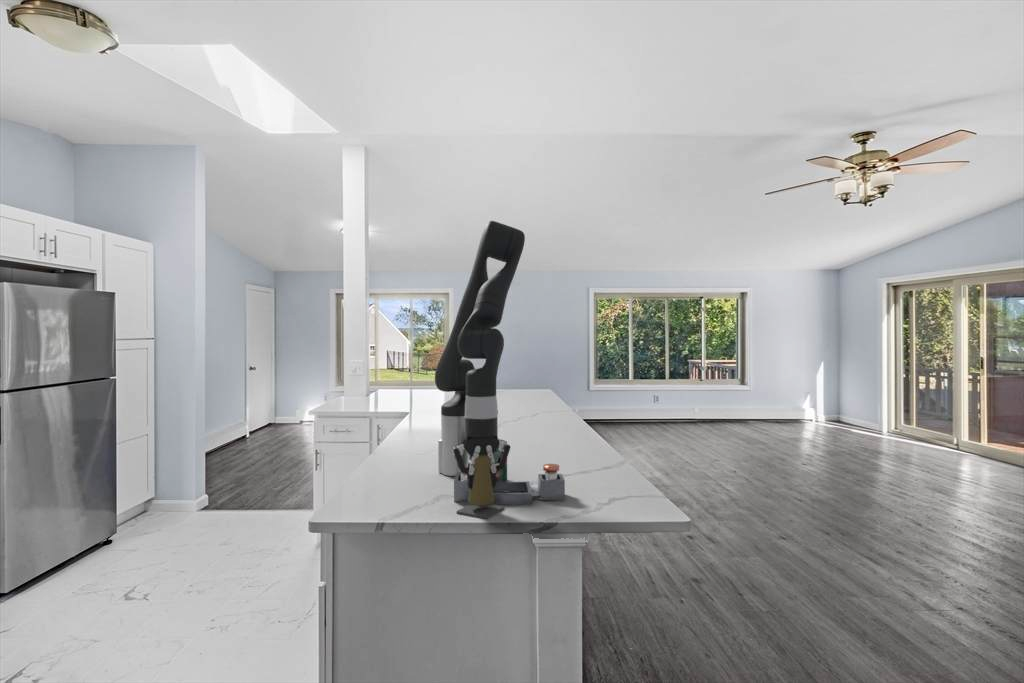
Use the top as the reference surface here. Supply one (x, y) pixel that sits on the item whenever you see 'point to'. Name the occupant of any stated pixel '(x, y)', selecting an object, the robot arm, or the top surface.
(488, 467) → the cork
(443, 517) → the top surface
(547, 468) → the plunger
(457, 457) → the robot arm
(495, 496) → the housing
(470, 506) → the pad
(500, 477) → the canned tomato
